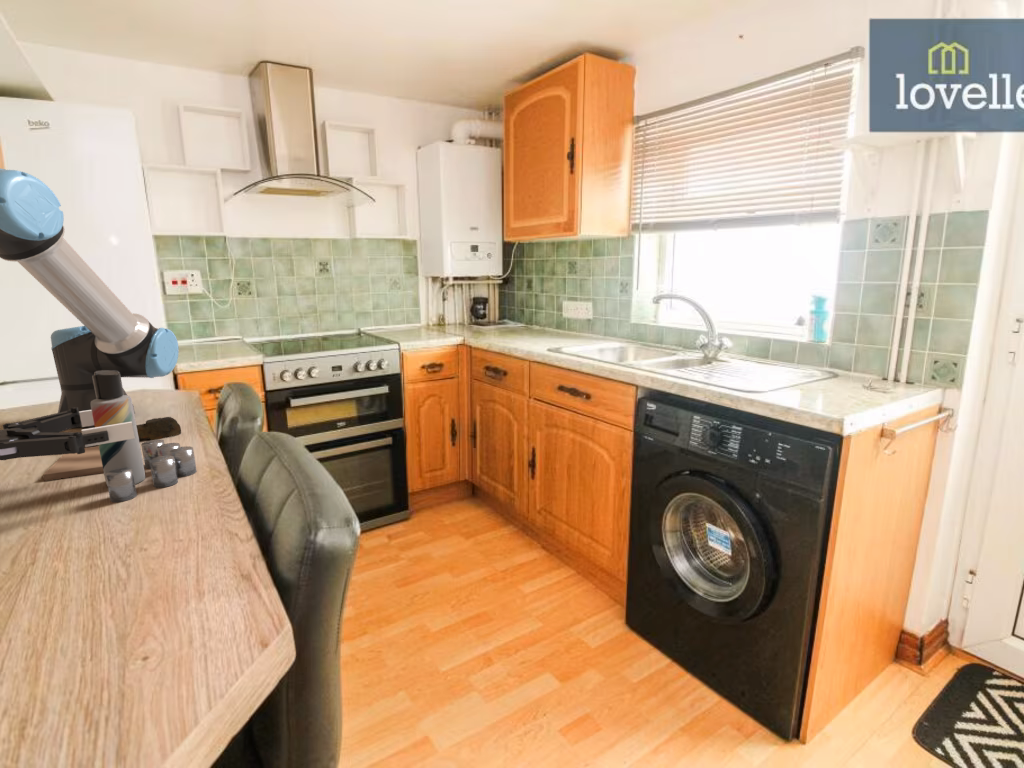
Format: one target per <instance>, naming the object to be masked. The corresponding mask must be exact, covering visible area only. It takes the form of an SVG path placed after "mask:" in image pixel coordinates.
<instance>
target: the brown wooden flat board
mask: <svg viewBox="0 0 1024 768" xmlns="http://www.w3.org/2000/svg"><path fill="white" fill-rule="evenodd" d="M96 474H104V470H103V465H102V460H101V455H100V450H99V446H95V447H89V448H85V453H82V454H77V453H75V454H61V456H60V457H59V458H58V459H57V460H56V461H55V462H54V463H53V464H52V465H51V466H50V467H49V468H47V470H45V472H44V473H43V474H42V476H43V480H44V482H47V481H46V480H49V481H53V479H56V480H61V478H63V479H69V477H70V478H75V477H76V476H77V477H83V476H91V475H96ZM77 477H76V478H77Z"/></svg>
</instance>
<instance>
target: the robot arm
mask: <svg viewBox="0 0 1024 768" xmlns="http://www.w3.org/2000/svg"><path fill="white" fill-rule="evenodd" d="M61 206H62V205H61V202H60V200H59V198H58V197H57V196H56V194H55V193H54V191H53V190H51V188H50V187H49V186H48V185H47V184H46V183H44V181H42V180H41V179H39V178H37V177H36V176H34V175H32V174H30V173H28V172H25V171H21V170H18V169H17V170H15V169H5V168H0V259H2V260H4V261H7V262H17V263H18V264H19V265H20V266H21V267H22V268H24V269H25V270H26V272H27V273H28V274H30V275H31V276H32V277H33V278H34V279H35V280H36V281H37V282H39V284H40V285H41V286H43V288H44V289H46V291H48V292H49V294H50V295H52V296H53V297H54V298H55V299H56V300H57V301H58V302H59V303H60V304H61V305H62V306H63V307H64V308H66V309H67V311H68V312H70V313H71V314H72V315H73V316H74V317H75V318H76V319H77V321H79V322H80V323H81V324H82V325H81V326H74V327H68V328H67V327H66V328H62V329H60V328H59V329H57V330H54V331H53V332H52V333H51V334H50V342H51V343H50V344H51V352H52V356H53V359H54V365H55V369H56V374H57V377H58V381H59V385H60V392H61V394H60V399H59V405H58V410H57V412H56V413H51V414H47V415H44V416H39V417H34V418H29V419H26V420H21V421H16V422H14V421H13V422H7V423H3V424H2V429H0V461H7V460H14V459H19V458H21V459H22V458H31V457H32V458H33V457H34V458H35V457H45V456H47V457H48V456H56V455H59V456H60V455H63V454H75V453H77V454H82V453H85V448H84V445H85V447H89V446H95V445H100V444H106V443H111V442H117V441H123V440H128V439H134V438H135V436H134V431H133V425H132V422H125V423H119V424H113V425H107V426H101V427H95V425H94V420H93V415H92V410H91V401H92V400H95V399H97V398H96V393H95V388H94V383H93V378H92V376H93V375H94V372H95V371H100V370H110V371H112V370H115V371H119V372H120V375H121V378H138V379H139V378H145V379H146V378H149V379H154V378H158V377H159V378H160V377H161V378H162V377H166V376H167V375H169V374H171V373H172V371H173V370H174V369H175V367H176V365H177V363H178V360H179V353H180V352H179V350H180V349H179V342H178V339H177V337H176V335H175V334H174V332H173V331H172V330H171V329H170V328H169V329H168V328H165V327H158V328H157V327H155V326H153V324H152V323H151V322H150V321H149V320H148V319H147V318H146V317H145V316H144V315H142V314H140V313H133V312H131V311H130V309H129V308H128V307H127V306H126V305H125V304H124V303H123V302H122V301H121V299H119V297H118V296H117V295H116V294H115V293H114V292H113V291H112V290H111V288H110V287H109V286H108V285H107V284H106V283H105V282H104V281H103V280H102V279H101V278H100V276H99V275H97V273H96V272H95V271H94V270H93V269H92V268H91V266H90V265H89V264H88V263H87V262H86V260H84V259H83V258H82V256H80V254H79V253H78V252H77V251H76V250H75V249H74V248H73V247H72V246H71V244H70V243H68V241H67V240H66V239H65V238H64V235H65V226H64V216H65V215H64V212H63V210H61V209H60V207H61ZM123 392H124V395H127V396H129V395H128V394H127V392H126V391H125V389H124V388H123ZM133 409H134V415H135V414H136V412H135V406H134V405H133ZM74 428H84V429H81V432H79V431H76V432H75V431H74V432H72V431H70V432H69V431H68V432H67V430H71V429H74ZM65 431H66V432H65ZM81 433H82V434H81ZM95 447H96V446H95Z"/></svg>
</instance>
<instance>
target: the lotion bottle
mask: <svg viewBox="0 0 1024 768" xmlns="http://www.w3.org/2000/svg"><path fill="white" fill-rule="evenodd" d="M92 378H93V383H94V388H95V393H96V398H97V399H95V400H92V401H91V410H92V415H93V420H94V425H95V426H94V428H95V427H101V426H107V425H113V424H119V423H125V422H132V425H133V431H134V436H135V438H134V439H128V440H123V441H117V442H111V443H106V444H100V445H99V450H100V455H101V460H102V465H103V470H104V473H103V475H104V479H105V483H106V485H107V481H106V476H105V474H106V473H107V472H109V471H111V470H114V469H119V468H132V470H133V476H134V481H135V485H137V484H140V483H141V482H143V481H145V479H146V474H145V473H146V472H145V464H144V458H143V453H142V447H141V444H140V439H139V437H138V432H137V426H136V425H137V422H136V416H135V414H134V411H135V408H134V409H133V406H134V403H133V400H132V397H131V396H130V395H128V394H127V395H128V396H127V395H124V392H123V389H124V387H123V382H122V377H121V375H120V372H119V371H115V370H112V371H110V370H100V371H95V372H94V375H93V376H92Z"/></svg>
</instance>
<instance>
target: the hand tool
mask: <svg viewBox="0 0 1024 768" xmlns="http://www.w3.org/2000/svg"><path fill="white" fill-rule="evenodd" d="M180 425H181V424H180V423H179V422H178V421H177V420H176V419H175V418H174V417H171V416H164V417H155V418H152V419H151V418H150V419H147V420H146V421H145V423H142V424H136V426H137V432H138V437H139V440H148V441H151V440H163V439H167V438H172V437H175V436H179V435H181V434H182V428H181V426H180ZM81 434H82V432H81ZM97 446H99V445H95V446H89V447H97ZM89 447H85V445H84V448H89Z"/></svg>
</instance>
